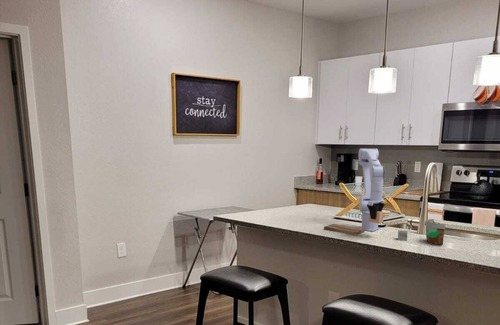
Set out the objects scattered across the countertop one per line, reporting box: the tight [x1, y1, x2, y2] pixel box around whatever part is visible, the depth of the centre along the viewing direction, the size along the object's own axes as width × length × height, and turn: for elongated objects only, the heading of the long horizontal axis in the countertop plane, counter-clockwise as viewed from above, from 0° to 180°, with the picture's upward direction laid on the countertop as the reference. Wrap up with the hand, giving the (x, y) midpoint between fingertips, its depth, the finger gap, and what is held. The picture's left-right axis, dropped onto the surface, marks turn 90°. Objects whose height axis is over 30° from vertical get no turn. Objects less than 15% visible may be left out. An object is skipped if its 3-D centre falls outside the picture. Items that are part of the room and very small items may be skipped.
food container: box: [423, 218, 446, 246], centre depth 178 cm, size 12×6×10 cm, turn 178°
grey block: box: [397, 229, 408, 242], centre depth 183 cm, size 4×4×4 cm
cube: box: [369, 211, 384, 225], centre depth 187 cm, size 5×5×5 cm
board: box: [323, 223, 365, 236], centre depth 199 cm, size 10×18×2 cm, turn 49°
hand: (375, 218), depth 187 cm, fingers closed on cube, 5 cm apart
